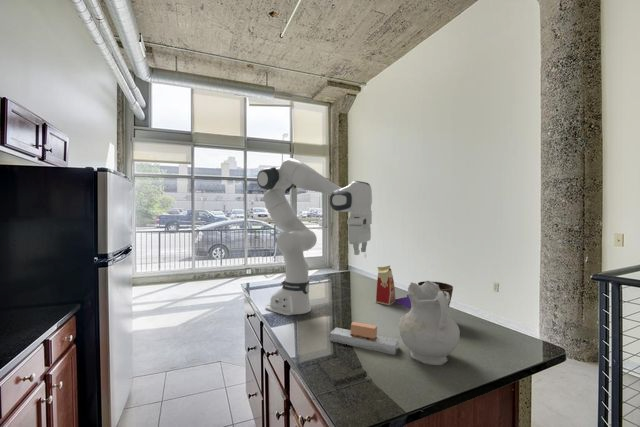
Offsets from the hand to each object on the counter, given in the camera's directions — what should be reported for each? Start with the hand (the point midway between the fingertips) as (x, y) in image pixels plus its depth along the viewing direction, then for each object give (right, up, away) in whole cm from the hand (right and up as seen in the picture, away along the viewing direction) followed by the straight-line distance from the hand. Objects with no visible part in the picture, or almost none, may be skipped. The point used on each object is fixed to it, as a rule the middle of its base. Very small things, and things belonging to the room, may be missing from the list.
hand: (360, 253), depth 124 cm
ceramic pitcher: (+20, -32, -24) cm, 45 cm away
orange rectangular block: (-1, -31, -15) cm, 35 cm away
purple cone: (+30, -32, +33) cm, 55 cm away
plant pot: (+35, -32, +11) cm, 48 cm away
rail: (-1, -31, -15) cm, 35 cm away
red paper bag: (+18, -31, +37) cm, 52 cm away
